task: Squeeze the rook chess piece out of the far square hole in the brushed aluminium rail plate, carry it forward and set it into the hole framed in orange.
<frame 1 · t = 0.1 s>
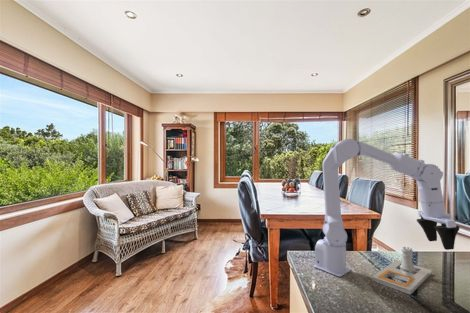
hand: (440, 244, 75), 10 cm above the countertop, tool pointing down, fingers open, 7 cm apart
rook chess piece: (407, 273, 79), resting in rail plate
rail plate: (402, 276, 76), on the countertop
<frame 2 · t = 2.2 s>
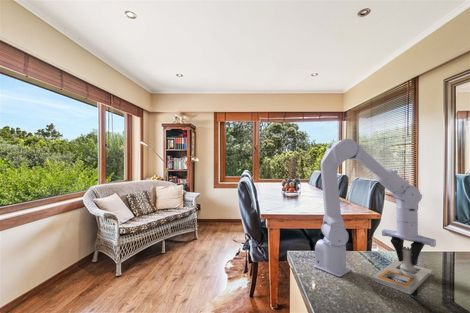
hand: (407, 262, 79), 3 cm above the countertop, tool pointing down, fingers closed on rook chess piece, 3 cm apart
rook chess piece: (407, 273, 79), resting in rail plate, touching gripper
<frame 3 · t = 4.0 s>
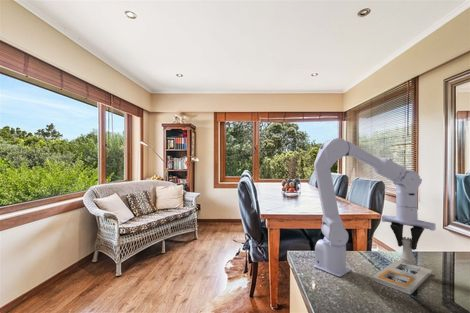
hand: (407, 247, 79), 8 cm above the countertop, tool pointing down, fingers closed on rook chess piece, 3 cm apart
rook chess piece: (407, 263, 79), point 3 cm above the countertop, touching gripper
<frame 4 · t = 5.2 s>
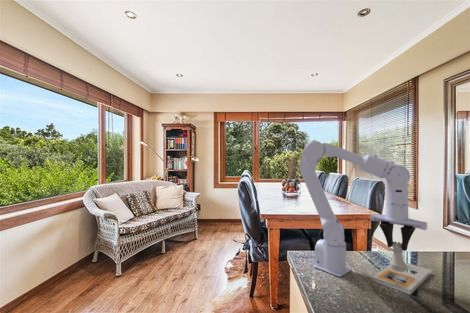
hand: (397, 248, 74), 10 cm above the countertop, tool pointing down, fingers closed on rook chess piece, 3 cm apart
rook chess piece: (397, 269, 74), point 3 cm above the countertop, touching gripper
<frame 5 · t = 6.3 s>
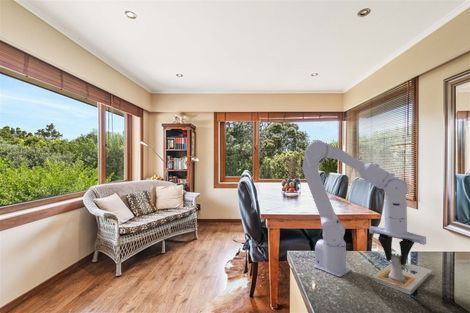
hand: (396, 262, 73), 6 cm above the countertop, tool pointing down, fingers closed on rook chess piece, 3 cm apart
rook chess piece: (396, 282, 73), resting in rail plate, touching gripper
when the fingers open (4 cm above the countertop, at t = 7.1 s): rook chess piece stays where it is, resting in rail plate.
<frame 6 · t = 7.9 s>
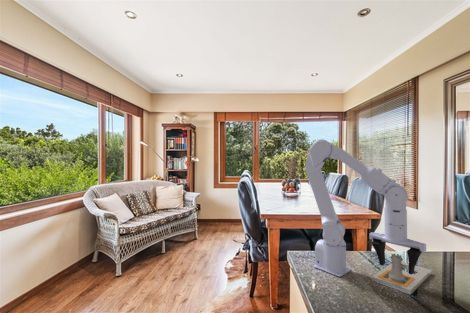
hand: (396, 268, 73), 4 cm above the countertop, tool pointing down, fingers open, 7 cm apart
rook chess piece: (396, 282, 73), resting in rail plate
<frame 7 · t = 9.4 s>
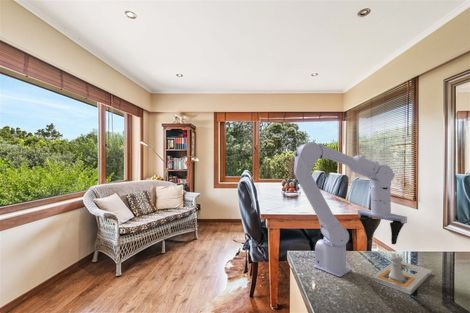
hand: (381, 240, 81), 10 cm above the countertop, tool pointing down, fingers open, 7 cm apart
nothing on the countertop moved.
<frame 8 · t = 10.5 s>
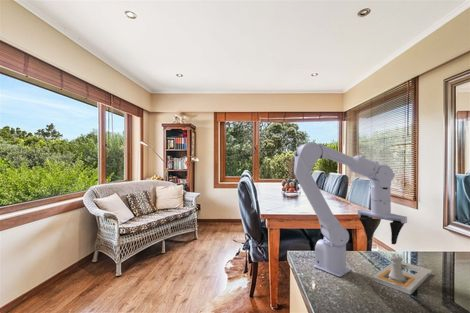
hand: (381, 240, 81), 10 cm above the countertop, tool pointing down, fingers open, 7 cm apart
nothing on the countertop moved.
at the end: rook chess piece 0.3 cm from the target spot on the rail plate, point 0.0 cm above the rail plate's base; rook chess piece tilted 0°; the gripper is holding nothing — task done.
